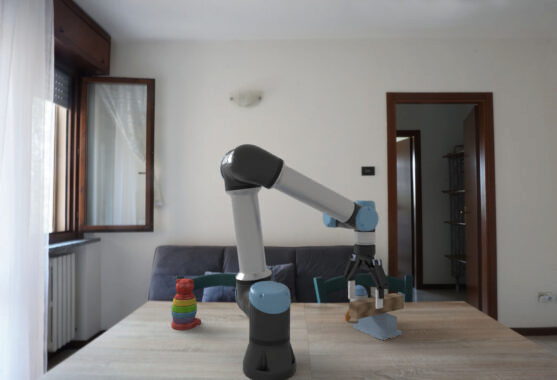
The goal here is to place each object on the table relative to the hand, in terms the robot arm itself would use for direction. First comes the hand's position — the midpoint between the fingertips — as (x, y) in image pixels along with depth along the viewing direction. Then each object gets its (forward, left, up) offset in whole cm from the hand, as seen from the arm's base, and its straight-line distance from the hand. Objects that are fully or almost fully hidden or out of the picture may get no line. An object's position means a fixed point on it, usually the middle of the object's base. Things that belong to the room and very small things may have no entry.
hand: (364, 303), depth 128 cm
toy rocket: (+8, +13, -12) cm, 19 cm away
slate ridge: (+6, 0, -11) cm, 13 cm away
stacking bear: (-53, +42, -11) cm, 68 cm away
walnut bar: (+6, 0, -4) cm, 7 cm away
